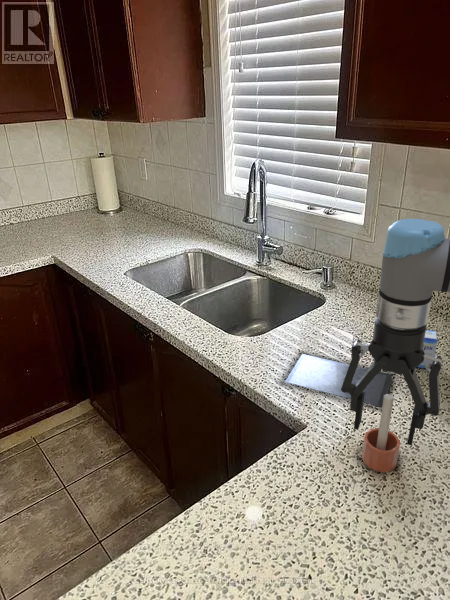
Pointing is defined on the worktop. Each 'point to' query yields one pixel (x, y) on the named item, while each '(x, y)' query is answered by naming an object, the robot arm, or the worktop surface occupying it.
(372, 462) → the pen cup
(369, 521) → the worktop surface
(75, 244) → the worktop surface
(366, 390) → the tablet
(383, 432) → the stylus
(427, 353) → the medicine box
